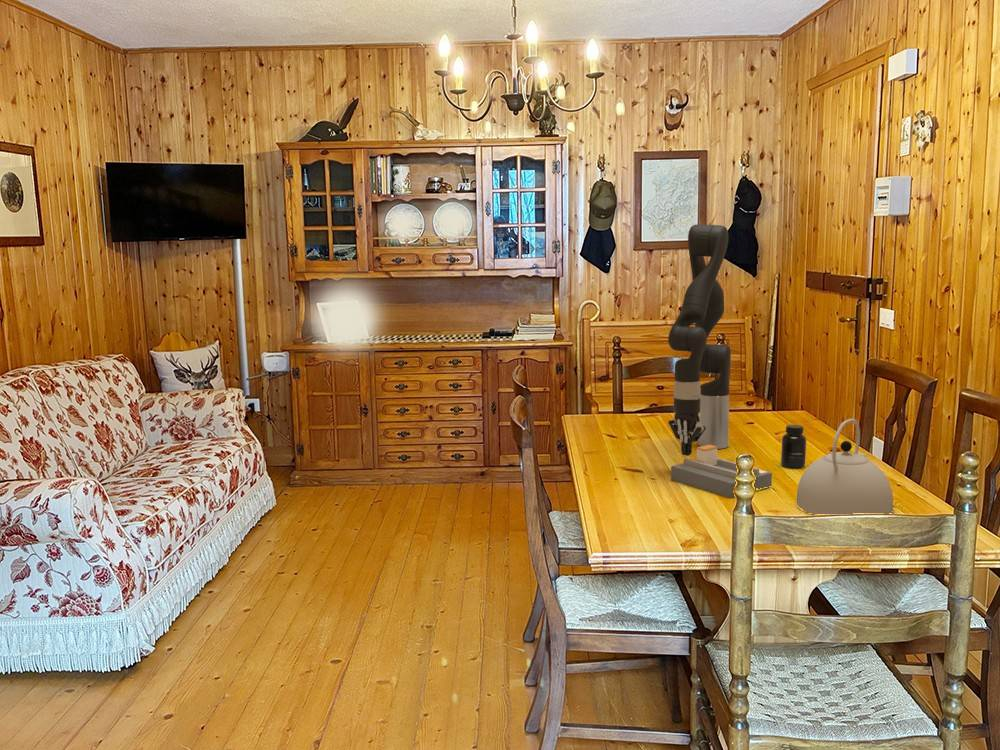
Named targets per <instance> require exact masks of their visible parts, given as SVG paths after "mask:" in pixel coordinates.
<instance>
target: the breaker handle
mask: <svg viewBox="0 0 1000 750" xmlns="http://www.w3.org/2000/svg"><path fill="white" fill-rule="evenodd" d="M717 458H718V449H717V446H713V445H705V446H698V447H696V460H697V461H698V462H702V463H705V464H709V465H717Z"/></svg>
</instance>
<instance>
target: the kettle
mask: <svg viewBox="0 0 1000 750" xmlns="http://www.w3.org/2000/svg"><path fill="white" fill-rule="evenodd" d="M850 423H853V424H854V425H855V429H856V431H855V432H856V440H855V443H856V444H855V448H854V453H853V452H849V451H851V450H852V447H853V445H852V443H851V442H850V441H847V440H844V441H842V442H841V443H840V449H841V451H840V452H839V451H838V452H837V447H838V441H839V437H840V435H841V432H842V430H843V428H844V427H845V426H846V425H847V424H850ZM833 439H834V440H833V444H832V453H828V454H825V455H823V456H821V457H820V458H818V459H816V460H815V461H813V462H812V463H811V464H810V465H809V466H808V467H807V468H806V469H805V470H804V472H803V473H802V475H801V477H800V479H799V482H798V486H797V491H796V501H797V502H796V501H795V504H796V503H797V505H798V506H799V507H800V508H802V509H803V510H804V511H806V512H807V513H812V514H809V515H810V516H813V515H815V514H853V513H884V514H889V513H892V511H893V512H894V496H893V490H892V487H891V483H890V481H889V480H888V477H887V475H886V474H885V473H884V472H883V470H882V469H881V468H880V467H879V466H878V465H877V464H875V463H874V462H873V461H871V459H869V458H867V454H866V453H863V452H859V451H860V450H859V449H860V444H861V442H860V441H861V428H860V424H859V422H858V421H857V420H856V419H855V418H848V419H846V420H844V421H842V422H841V424H839V427H838V428H837V431H836V433H835V435H834V438H833ZM807 513H806V514H807Z"/></svg>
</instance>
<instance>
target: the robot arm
mask: <svg viewBox="0 0 1000 750" xmlns="http://www.w3.org/2000/svg"><path fill="white" fill-rule="evenodd" d="M728 244H729V231H728V228H727V227H726V226H725V225H718V224H702V223H701V224H700V223H698V224H693V225H691V226H690V228H689V230H688V235H687V247H688V255H689V262H690V263H689V264H690V269H691V280H692V281H691V283H690V284H689V285H688V286H687V288H686V291H685V294H684V297H683V301H682V305H681V308H680V309H681V310H680V312H679V314H678V316H677V317H676V319H675V321H674V323H673V324H672V326H671V329H670V330H669V332H668V339H667V341H668V345H669V347H670V348H671V349H672V350H673V351H679V352H690V355H689V357H688V358H681V359H677V360H676V361H675V363H674V385H673V413H675V414H674V418H672V419H670V420H668V425H669V428H670V429H671V431H672V433H673V435H674V437H675V439H676V440H679V442H680V451H681V455H683V456H684V457H688V456H690V455H692V453H693V451H692V450H693V443H694V442H696V445H698V447H701V446H705V445H713V446H717V450H718V449H719V450H721V449H722V450H723V449H726V448H728V447H729V435H730V434H729V425H730V423H729V422H730V421H729V420H730V373H731V362H732V361H731V360H732V359H731V358H732V357H731V356H732V355H731V354H732V353H731V348H730V346H729V345H728V344H719V343H717V344H712V343H711V344H710V343H709V344H708V343H707V341H708V338H709V336H710V334H711V332H712V331H713V329H714V328H715V326H716V325H717V324H718V322H719V321H721V319H722V316H723V315H724V311H725V296H724V293H725V292H724V289H723V287H722V286H721V284H720V283H719V281H718V280H717V277H718V274H719V271H720V269H721V267H722V264H723V261H724V259H725V256H726V253H727V249H728ZM705 257H709V258H710V259H709V261H708V263H707V264H706V261H705ZM693 324H694V326H691V325H693ZM701 373H705V374H718V377H717V378H715V379H713V380H711V381H708V382H704V383H702V384H701V381H700V380H701V376H700V375H701Z"/></svg>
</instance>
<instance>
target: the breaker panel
mask: <svg viewBox="0 0 1000 750" xmlns="http://www.w3.org/2000/svg"><path fill="white" fill-rule="evenodd" d="M735 463H736V462H735V461H730V460H726V459H722V458H719V457H717V465H709V464H705V463H702V462H698V461H697V459H690V458H683V462H682V463H679V464H673V465H671V466H670V481H674V482H677V483H681V484H683V485H687V486H689V487H694V488H696V489H697V488H698V489H700V490H702V491H707V492H709V493H713V494H716V495H719V496H722V497H726V498H729V499H735V497H734V493H733V490H734V487H735V484H736V481H735V476H736V474H737V468H736V464H735ZM753 472H754V475H755V477H756V480H755V483H754V487H755V490H756V488H758V489H760V488H764V487H769V486H772V484H773V481H772V480H773V479H772V478H773V472H770V471H766V470H764V469H763V470H762V469H760V468H757V467H754V469H753Z"/></svg>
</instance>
